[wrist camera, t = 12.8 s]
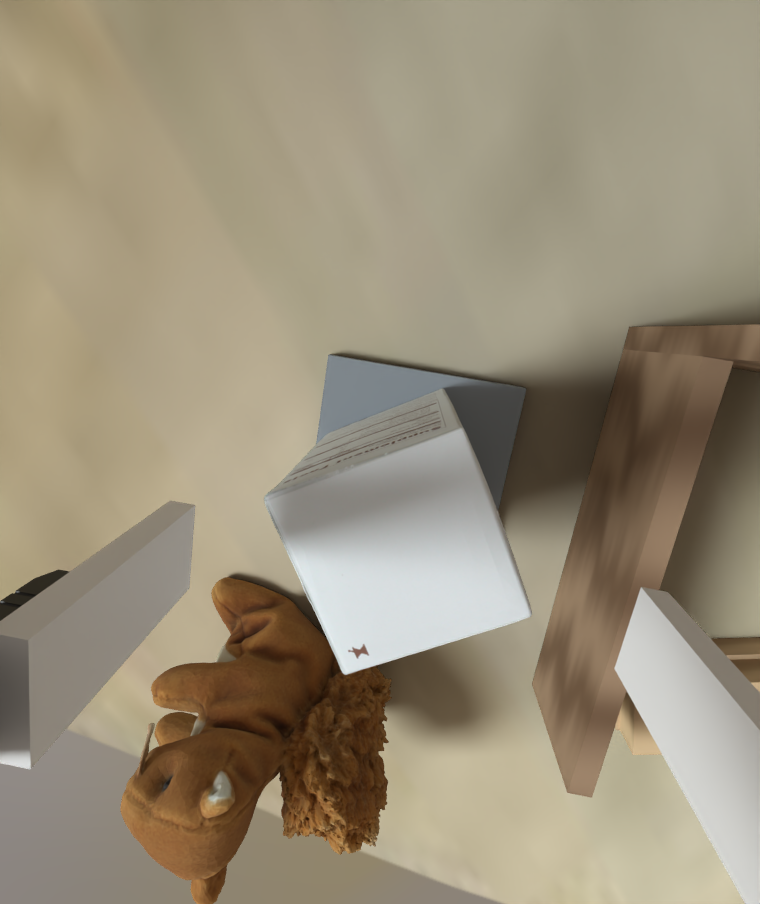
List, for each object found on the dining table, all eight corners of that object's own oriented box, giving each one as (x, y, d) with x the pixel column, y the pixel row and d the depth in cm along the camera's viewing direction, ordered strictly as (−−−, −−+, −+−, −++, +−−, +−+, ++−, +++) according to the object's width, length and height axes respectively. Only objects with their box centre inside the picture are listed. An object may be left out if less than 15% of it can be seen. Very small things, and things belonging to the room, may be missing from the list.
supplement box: (489, 503, 30) (540, 625, 17) (369, 542, 31) (338, 684, 18) (446, 383, 28) (468, 423, 16) (323, 429, 29) (254, 499, 17)
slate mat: (330, 354, 29) (328, 355, 28) (523, 387, 29) (526, 388, 28) (306, 532, 32) (303, 537, 31) (482, 564, 31) (484, 570, 31)
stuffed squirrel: (213, 566, 33) (82, 717, 20) (424, 631, 33) (428, 824, 20) (183, 694, 35) (49, 901, 22) (379, 754, 35) (357, 996, 22)
